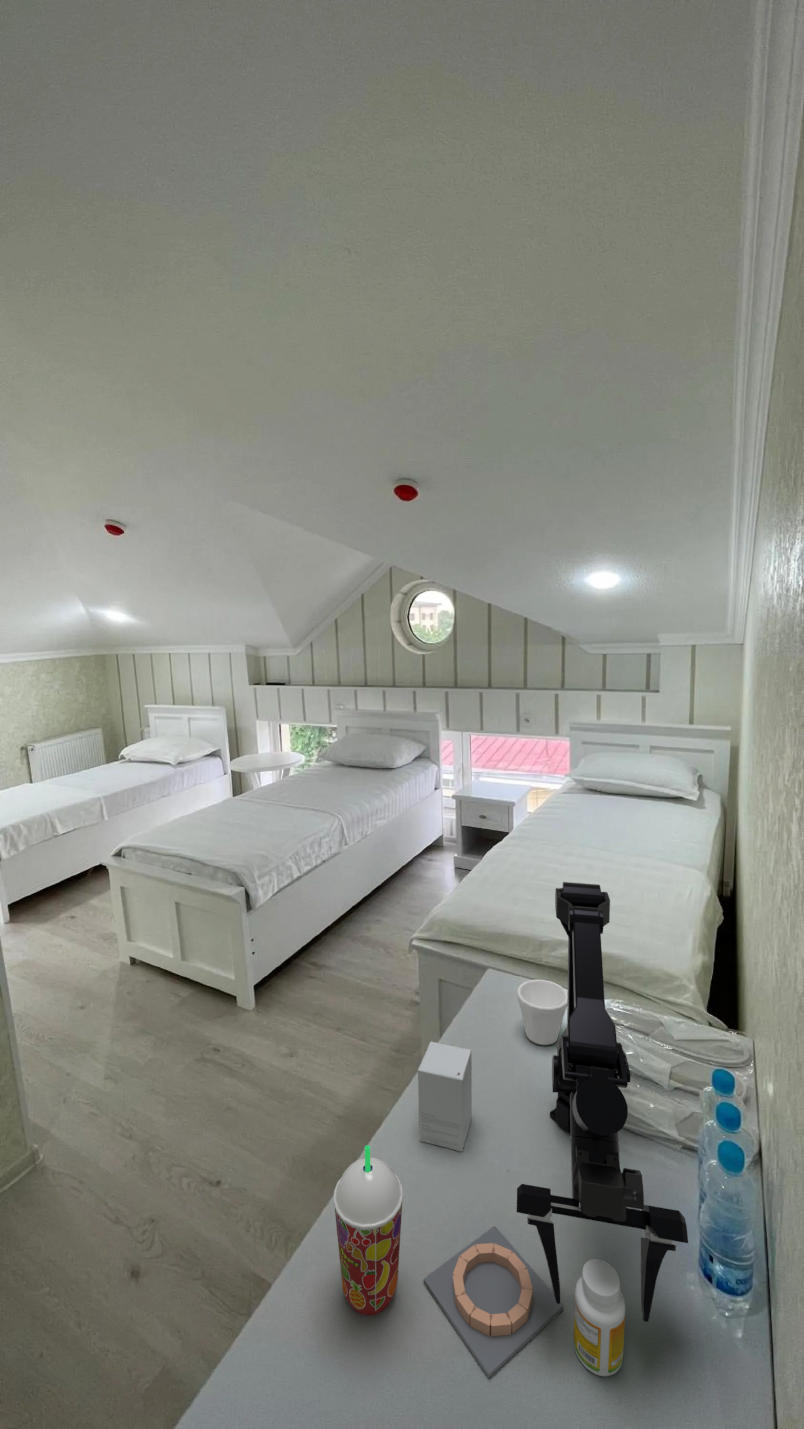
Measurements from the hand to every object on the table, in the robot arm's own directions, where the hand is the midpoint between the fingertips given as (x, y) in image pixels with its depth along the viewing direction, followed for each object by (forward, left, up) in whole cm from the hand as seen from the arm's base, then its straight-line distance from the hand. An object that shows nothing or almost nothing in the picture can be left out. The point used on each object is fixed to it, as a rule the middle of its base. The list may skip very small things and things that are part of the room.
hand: (601, 1312), depth 67 cm
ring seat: (+5, -12, -7) cm, 15 cm away
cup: (-36, -42, -7) cm, 56 cm away
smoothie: (+17, -21, -7) cm, 28 cm away
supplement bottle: (-1, -1, -7) cm, 7 cm away
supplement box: (-6, -35, -7) cm, 36 cm away
